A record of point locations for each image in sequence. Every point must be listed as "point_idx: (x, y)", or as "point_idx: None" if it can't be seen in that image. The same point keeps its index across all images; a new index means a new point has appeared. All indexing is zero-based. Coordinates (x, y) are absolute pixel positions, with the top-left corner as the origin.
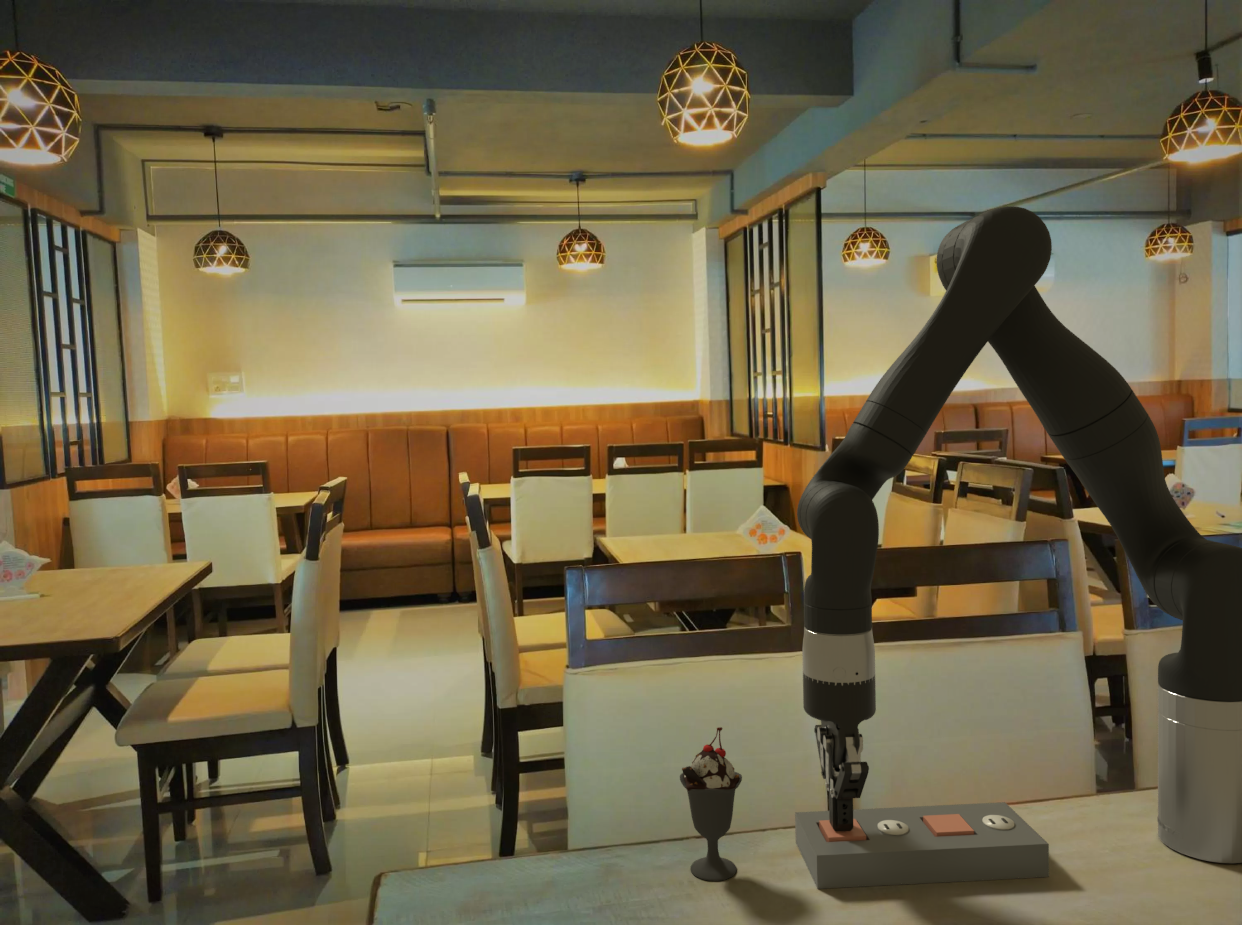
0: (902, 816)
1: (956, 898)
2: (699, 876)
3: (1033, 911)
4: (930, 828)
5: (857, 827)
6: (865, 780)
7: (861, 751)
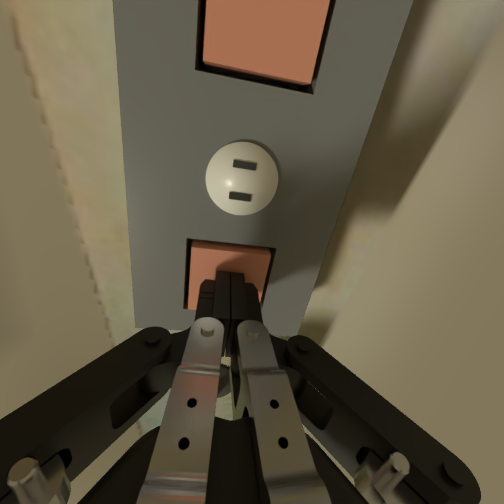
0: (182, 121)
1: (393, 119)
2: (225, 394)
3: None
4: (263, 74)
5: (232, 257)
6: (403, 414)
7: (321, 479)
